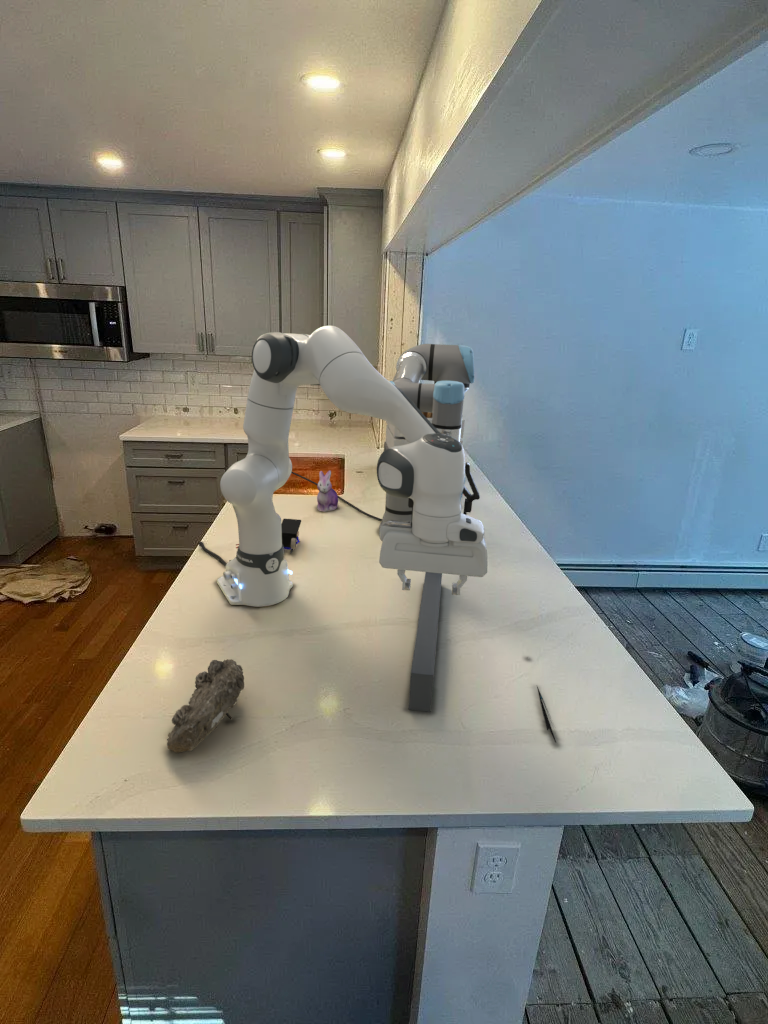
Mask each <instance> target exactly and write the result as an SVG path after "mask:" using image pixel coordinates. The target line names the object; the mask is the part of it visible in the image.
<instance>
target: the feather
mask: <svg viewBox="0 0 768 1024" xmlns="http://www.w3.org/2000/svg"><path fill="white" fill-rule="evenodd" d="M527 659H529V657H527ZM536 688H537V692H538V697H539V703H540V706H541V711H542V715H543V719H544V722H545V727H546V731H549V732H550V734H551V737H552V738H553V740H554V742H555V743H557V740H556V738H555V735H554V732H553V729H555V728H556V727H555V725H553V726H551V724H553V720H552V718H551V714H550V713H549V711H548V708H547V705H546V703H545V701H544V698H543V696H542V694H541V691H540V689H539V687H538V686H536ZM550 722H551V723H550ZM552 727H553V729H552Z"/></svg>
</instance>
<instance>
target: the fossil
mask: <svg viewBox="0 0 768 1024" xmlns="http://www.w3.org/2000/svg"><path fill="white" fill-rule="evenodd" d="M243 670H244V669H243V667H242V665H240V664H237V662H236V661H235V660H234V659H232V658H231V659H227V658H226V659H224V660H223V661H222V660H217V659H212V660H211V661H210V663H209V665H208V666H207V671H201V672H199V673H198V674H197V675H196V676H195V680H194V684H195V685H194V687H195V689H194V690H193V693H192V694H191V697H190V698H189V700H188V704H184V705H182V706H181V707H180V709H177V710H176V711H175V713H174V715H173V716H172V718H171V723H172V724H173V727H172V730H171V731H170V732H168V734H167V738H166V741H167V742H166V745H167V749H168V750H169V751H173V752H174V753H176V754H178V753H182V752H188V751H189V752H192V751H193V750H195V748H196V747H197V746H199V744H200V743H201V742H203V741H204V740H205V739H206V738H207V737H208V736H209V735H210V734H211V733H212V732H214V730H215V729H217V727H218V726H219V724H220V722H221V721H222V720H223V719H224V718H225V716H226V717H227V719H229V720H233V717H232V715H230V714H229V710H230V709H231V708H234V706H235V704H236V703H237V702H238V699H239V697H240V695H241V693H242V691H243V690H245V689H244V688H245V675H244V671H243Z"/></svg>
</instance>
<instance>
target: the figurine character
mask: <svg viewBox="0 0 768 1024" xmlns="http://www.w3.org/2000/svg"><path fill="white" fill-rule="evenodd" d="M301 523H302V519H297V518H295V519H294V518H283V519H282V520H281V524H282V544H283V547H284V550H290V551H289V553H290V554H293V552H294V550H296V549H297V545H298V544H300V542H301V541H300V539H299V536H300V531H299V529H300V527H301Z"/></svg>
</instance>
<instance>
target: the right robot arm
mask: <svg viewBox="0 0 768 1024" xmlns="http://www.w3.org/2000/svg"><path fill="white" fill-rule="evenodd" d="M474 356H475V355H474V350H473V348H472V347H471V346H468V345H461V344H441V343H439V344H438V343H435V344H434V343H421V344H418V345H415V346H412V347H410V348H409V349H407V350H405V351H404V352H402V353H401V354H400V356H399V357H398V359H397V361H396V366H395V370H396V372H395V373H394V377H393V379H392V380H388V381H389V382H391V383H392V384H394V385H395V386H396V387H398V388H399V389H400V390H401V391H403V392H404V393H405V394H406V395H407V397H408V398H409V399H410V400H411V401H412V402H413V403H414V404H415V405H416V406H417V408H418V409H419V410H420V411H421V412H430V413H432V425H433V426H434V427H435V428H436V429H437V430H438V431H439V432H440V433H441V434H443V435H448V436H451V437H453V438H455V439H457V440H458V441H459V442H460V439H461V438H460V435H461V423H462V419H463V410H464V402H465V401H464V400H465V393H466V392H467V391H469V389H470V384H474V383H475V358H474ZM421 381H428V382H429V381H430V382H433V383H423V382H422V383H421ZM291 475H294V476H296V477H299V478H301V479H303V480H305V481H307V482H308V483H309V482H310V483H311V484H313V485H316V486H317V485H318V482H314V481H313V480H311V479H309V478H307V477H305V476H303V475H300V474H298V473H296V472H294V471H292V472H291ZM466 479H467V482H468V484H469V487H470V489H471V491H472V493H471V492H470V491H469V489H468V488H467V486H466V485H465V484H466ZM463 496H464V497H465V498H464V504H463V512H462V513H463V514H465V515H467V514H468V513H469V514H470V513H471V512H472V509H473V502H474V501H477V500H480V498H481V495H480V491H479V489H478V487H477V484H476V482H475V480H474V477H473V475H472V473H471V464H470V462H468V461H467V462H466V461H465V479H464V489H463V492H462V494H461V498H460V502H462V498H463ZM338 500H340V501H342V502H344V503H345V504H347V505H349V506H350V507H351V508H353V509H355V510H356V511H358V512H360V513H361V514H363V515H365V516H367V517H370V518H372V519H375V520H377V521H379V525H378V530H379V529H380V526H381V525H382V524H383V523H385V522H388V520H395V521H409V522H412V516H413V505H414V502H413V500H412V499H411V498H400V497H395V496H391V495H389V494H388V493H386V492H385V504H384V505H385V507H384V508H385V509H384V513H383V515H382V518H380V517H378V516H375V515H372V514H370V513H368V512H365V511H363V510H362V509H360V508H359V507H357V506H356V505H354V504H353V503H351V502H349V501H347V500H345V499H344V498H343V497H342V496H339V495H338ZM467 516H468V515H467ZM386 525H388V524H386ZM411 528H412V527H411Z"/></svg>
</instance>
